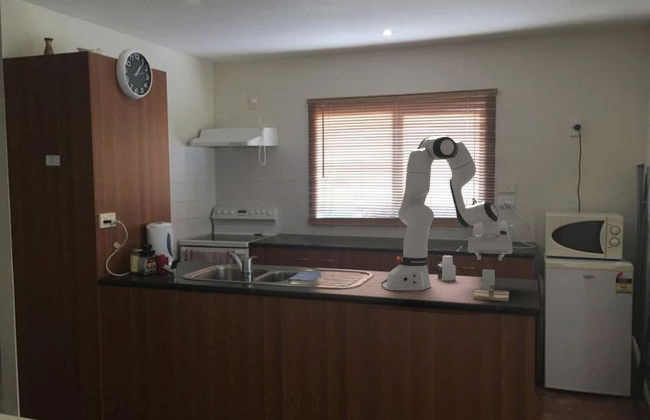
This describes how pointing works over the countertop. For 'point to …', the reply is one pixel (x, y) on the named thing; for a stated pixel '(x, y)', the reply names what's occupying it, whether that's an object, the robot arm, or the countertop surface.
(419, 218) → the robot arm
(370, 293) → the countertop surface
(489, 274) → the block
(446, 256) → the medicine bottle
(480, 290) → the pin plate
